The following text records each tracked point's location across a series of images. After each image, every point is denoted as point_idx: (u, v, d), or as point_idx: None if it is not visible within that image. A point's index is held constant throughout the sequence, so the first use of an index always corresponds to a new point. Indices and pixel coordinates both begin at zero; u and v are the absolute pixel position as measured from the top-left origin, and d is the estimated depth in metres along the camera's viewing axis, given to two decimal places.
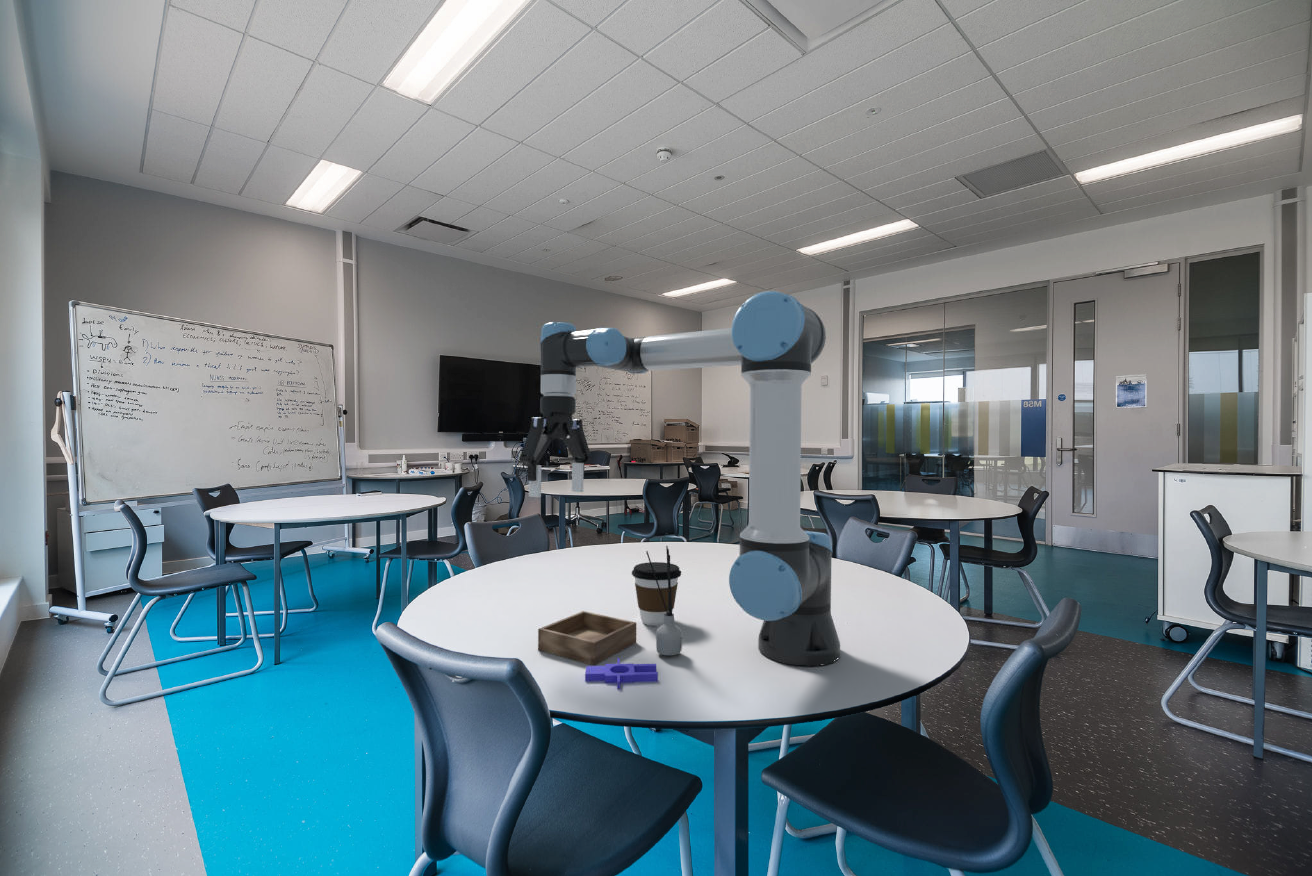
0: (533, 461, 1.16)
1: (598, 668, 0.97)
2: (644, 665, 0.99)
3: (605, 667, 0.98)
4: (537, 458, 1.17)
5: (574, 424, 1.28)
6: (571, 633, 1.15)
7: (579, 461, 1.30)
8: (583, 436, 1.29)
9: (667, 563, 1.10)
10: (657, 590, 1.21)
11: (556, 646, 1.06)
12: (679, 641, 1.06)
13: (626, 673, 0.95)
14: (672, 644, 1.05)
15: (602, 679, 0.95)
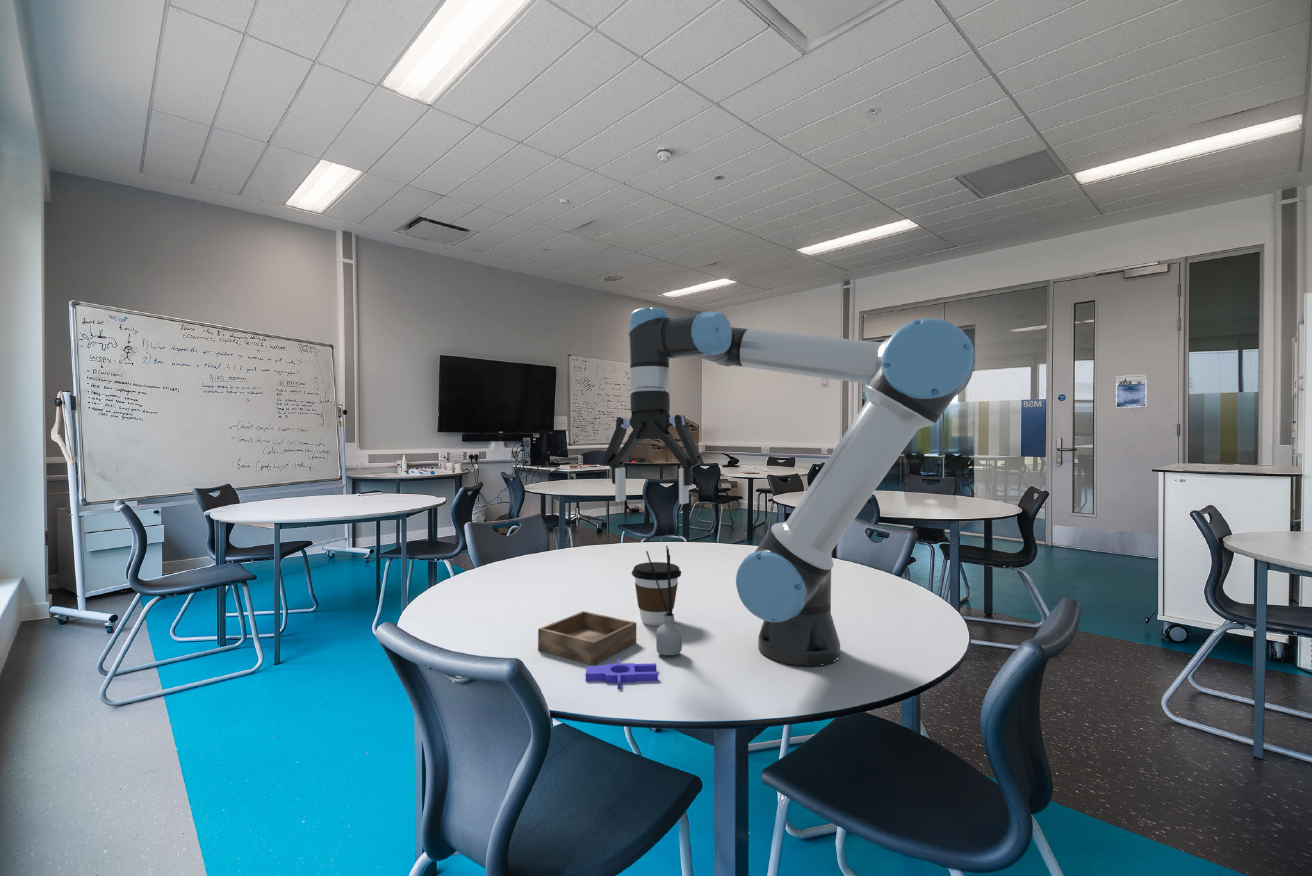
0: None
1: (599, 667, 0.98)
2: (644, 665, 0.99)
3: (605, 667, 0.98)
4: (614, 460, 1.12)
5: (673, 421, 1.07)
6: (571, 633, 1.15)
7: None
8: (682, 435, 1.05)
9: (667, 563, 1.10)
10: (657, 590, 1.21)
11: (556, 646, 1.06)
12: (679, 641, 1.06)
13: (626, 673, 0.95)
14: (672, 644, 1.05)
15: (602, 679, 0.95)
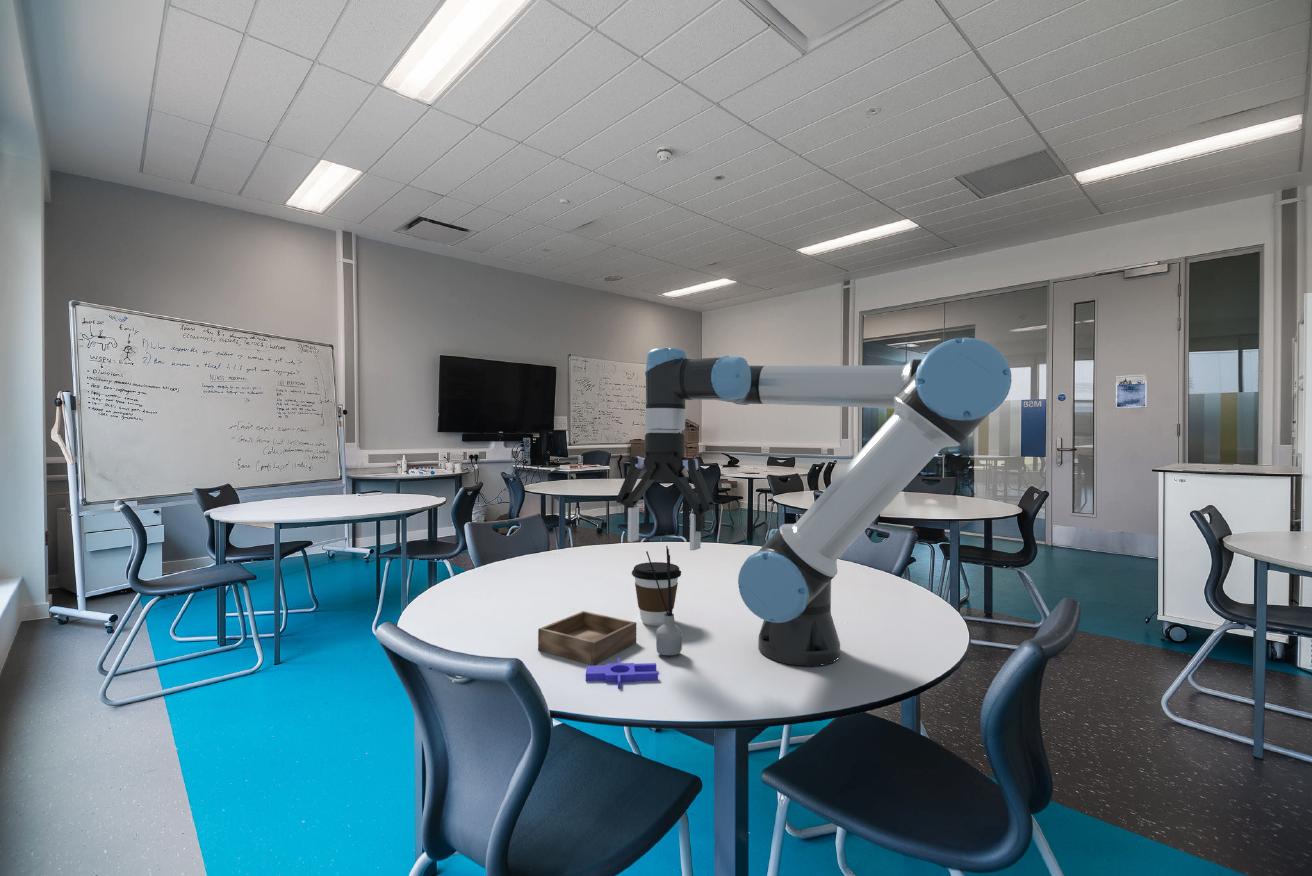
0: None
1: (599, 667, 0.98)
2: (644, 664, 0.99)
3: (605, 667, 0.98)
4: (627, 500, 1.11)
5: (686, 465, 1.05)
6: (571, 633, 1.15)
7: None
8: (695, 480, 1.03)
9: (667, 563, 1.10)
10: (657, 590, 1.21)
11: (556, 646, 1.06)
12: (679, 641, 1.06)
13: (626, 673, 0.95)
14: (672, 644, 1.05)
15: (602, 679, 0.95)
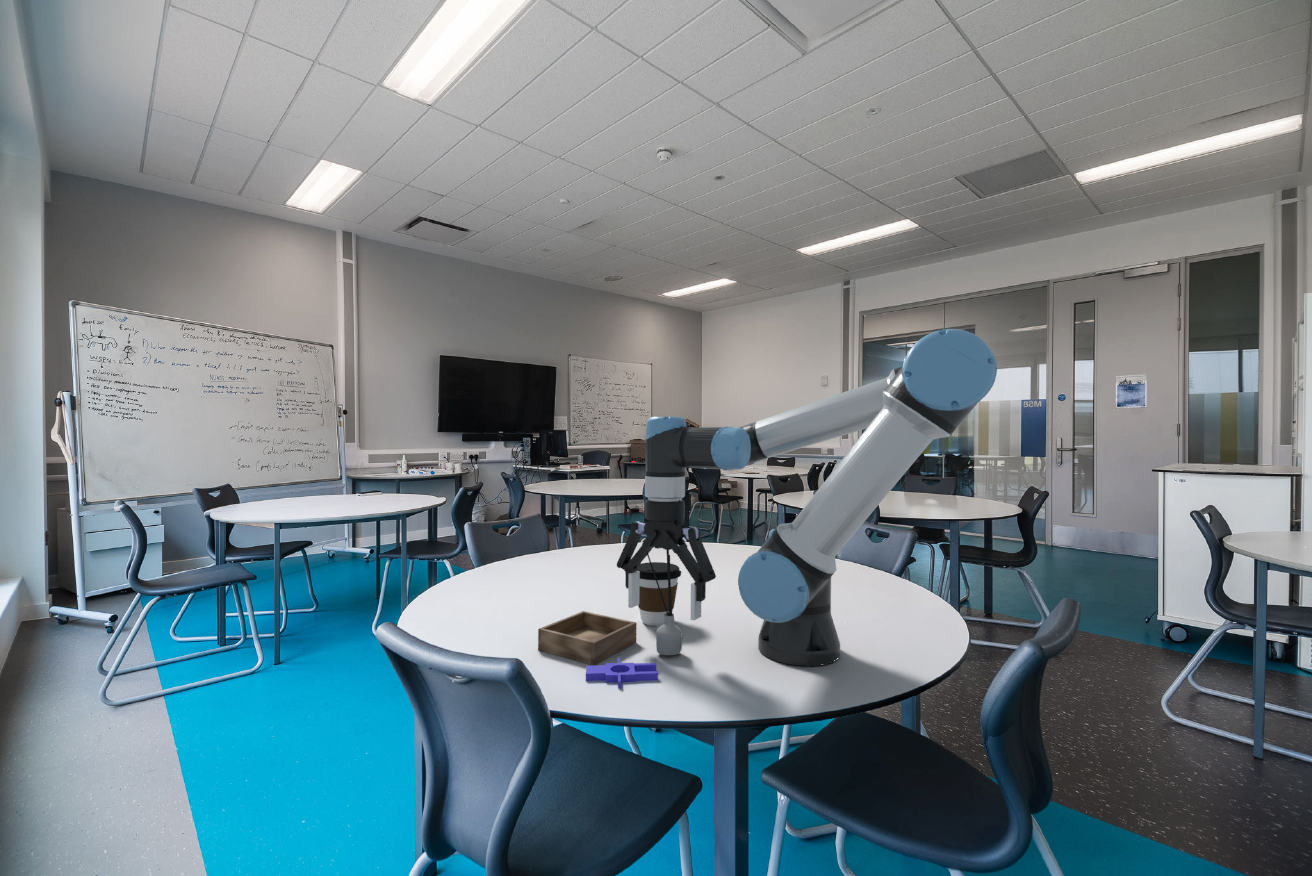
0: None
1: (599, 667, 0.98)
2: (644, 664, 0.99)
3: (605, 667, 0.98)
4: (628, 565, 1.10)
5: (687, 534, 1.05)
6: (571, 633, 1.15)
7: None
8: (695, 550, 1.03)
9: (667, 563, 1.10)
10: (657, 590, 1.21)
11: (556, 646, 1.06)
12: (679, 641, 1.06)
13: (626, 673, 0.96)
14: (672, 644, 1.05)
15: (603, 679, 0.95)
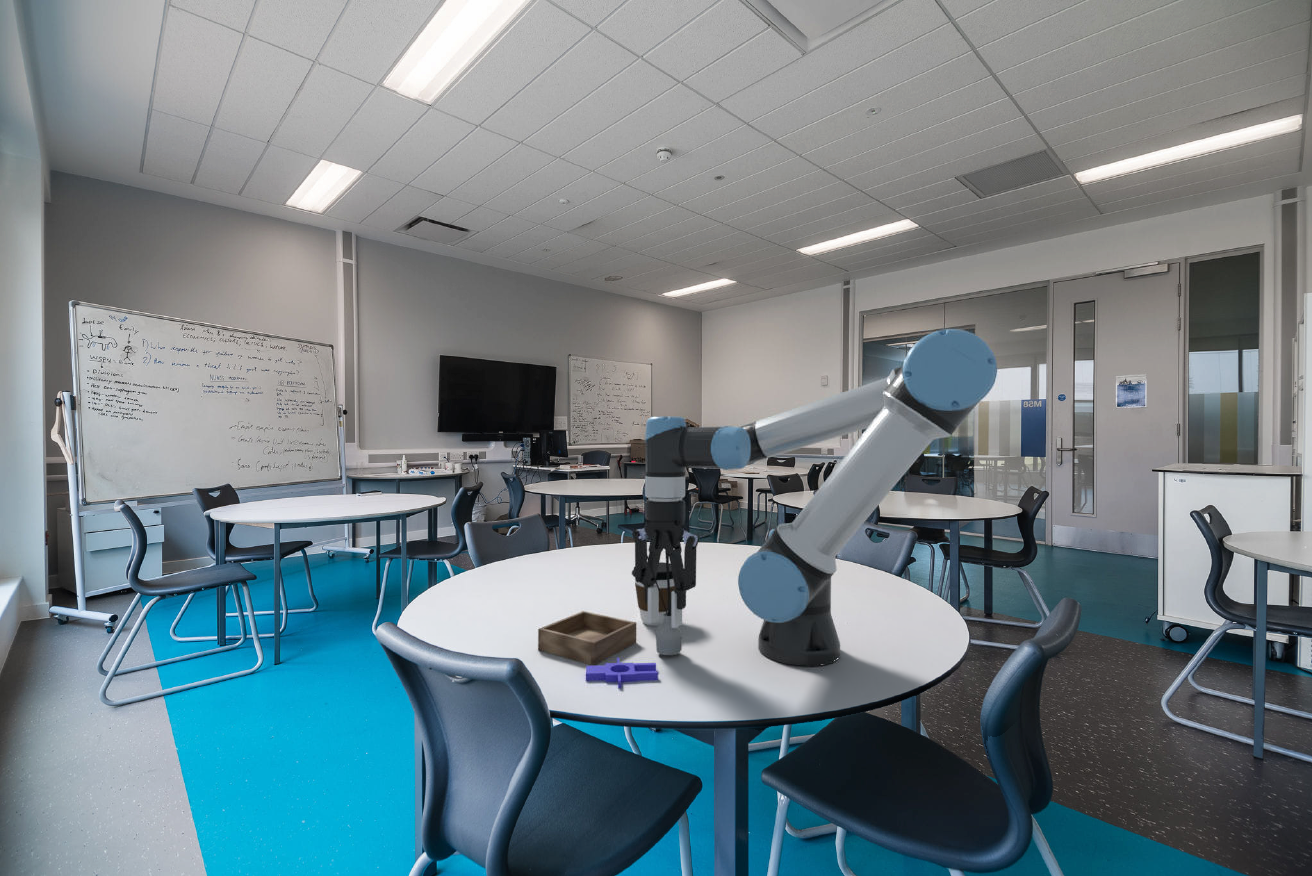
0: None
1: (599, 667, 0.98)
2: (644, 664, 0.99)
3: (605, 667, 0.98)
4: (645, 579, 1.08)
5: (685, 538, 1.05)
6: (571, 633, 1.15)
7: None
8: (687, 558, 1.04)
9: (666, 563, 1.10)
10: None
11: (556, 646, 1.06)
12: (679, 641, 1.06)
13: (626, 673, 0.96)
14: (672, 644, 1.05)
15: (603, 678, 0.95)
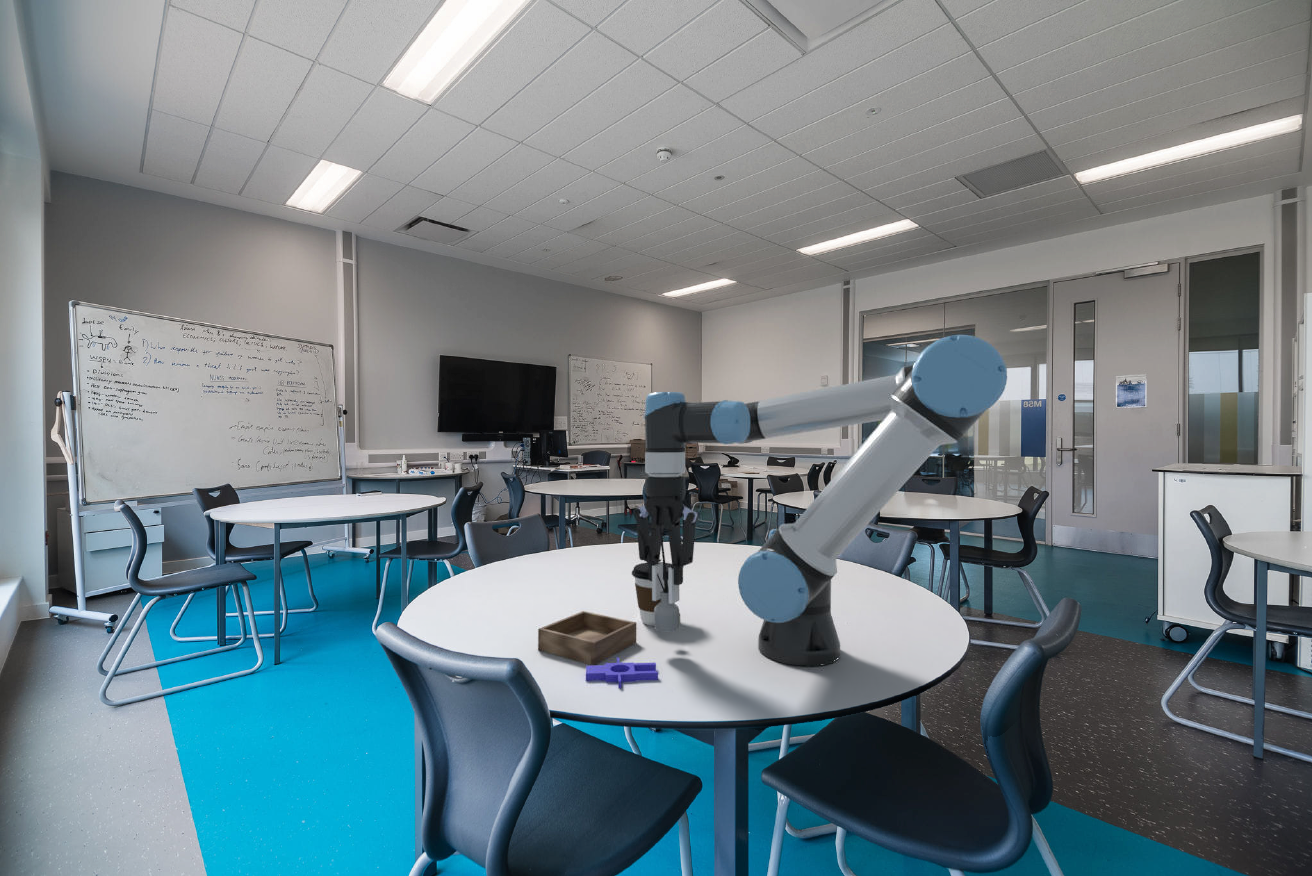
0: None
1: (599, 667, 0.98)
2: (644, 664, 0.99)
3: (605, 666, 0.98)
4: (649, 557, 1.08)
5: (685, 514, 1.05)
6: (571, 633, 1.15)
7: None
8: (686, 534, 1.04)
9: None
10: None
11: (556, 646, 1.06)
12: (677, 617, 1.06)
13: (627, 672, 0.96)
14: (670, 620, 1.05)
15: (603, 678, 0.95)
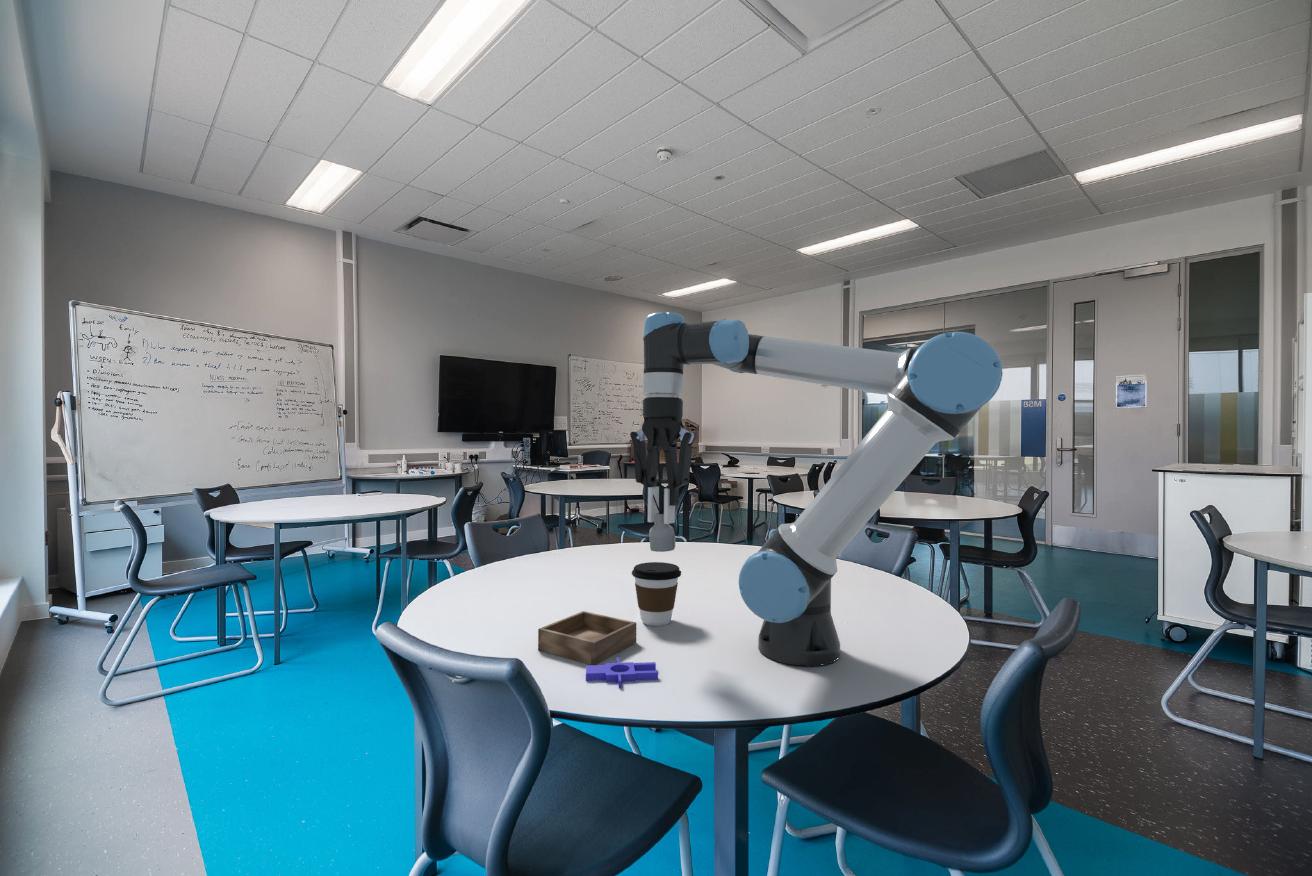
0: None
1: (598, 667, 0.98)
2: (644, 664, 0.99)
3: (605, 666, 0.98)
4: (645, 479, 1.08)
5: (682, 435, 1.05)
6: (571, 633, 1.15)
7: None
8: (682, 454, 1.04)
9: None
10: (657, 590, 1.21)
11: (556, 646, 1.06)
12: (672, 538, 1.06)
13: (627, 672, 0.96)
14: (665, 540, 1.05)
15: (603, 678, 0.96)
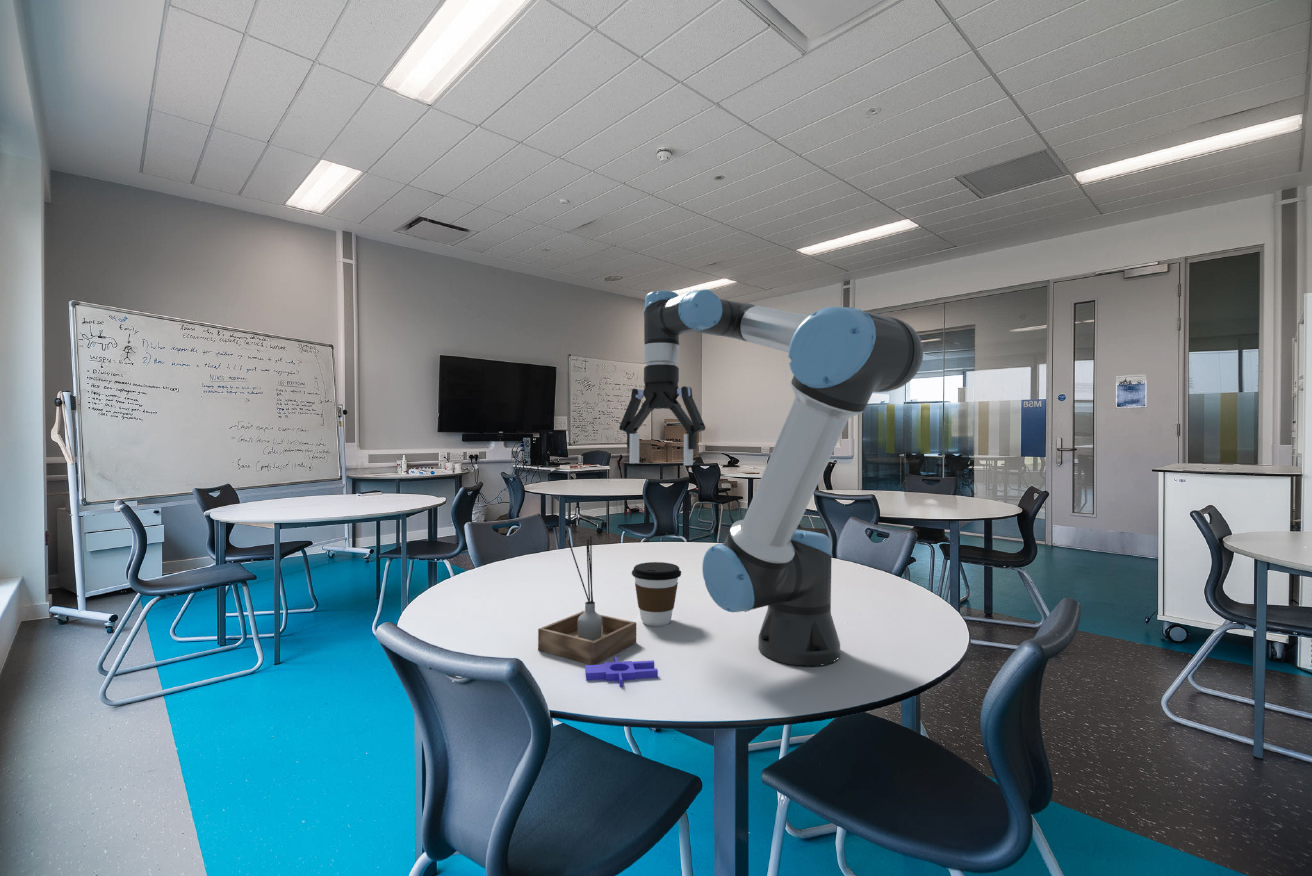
0: None
1: (598, 666, 0.98)
2: (642, 662, 1.00)
3: (604, 666, 0.98)
4: (629, 427, 1.26)
5: (680, 392, 1.20)
6: (571, 633, 1.15)
7: None
8: (688, 404, 1.18)
9: (590, 553, 1.14)
10: (657, 590, 1.21)
11: (556, 646, 1.06)
12: (599, 628, 1.09)
13: (627, 671, 0.96)
14: (591, 631, 1.08)
15: (603, 678, 0.96)
